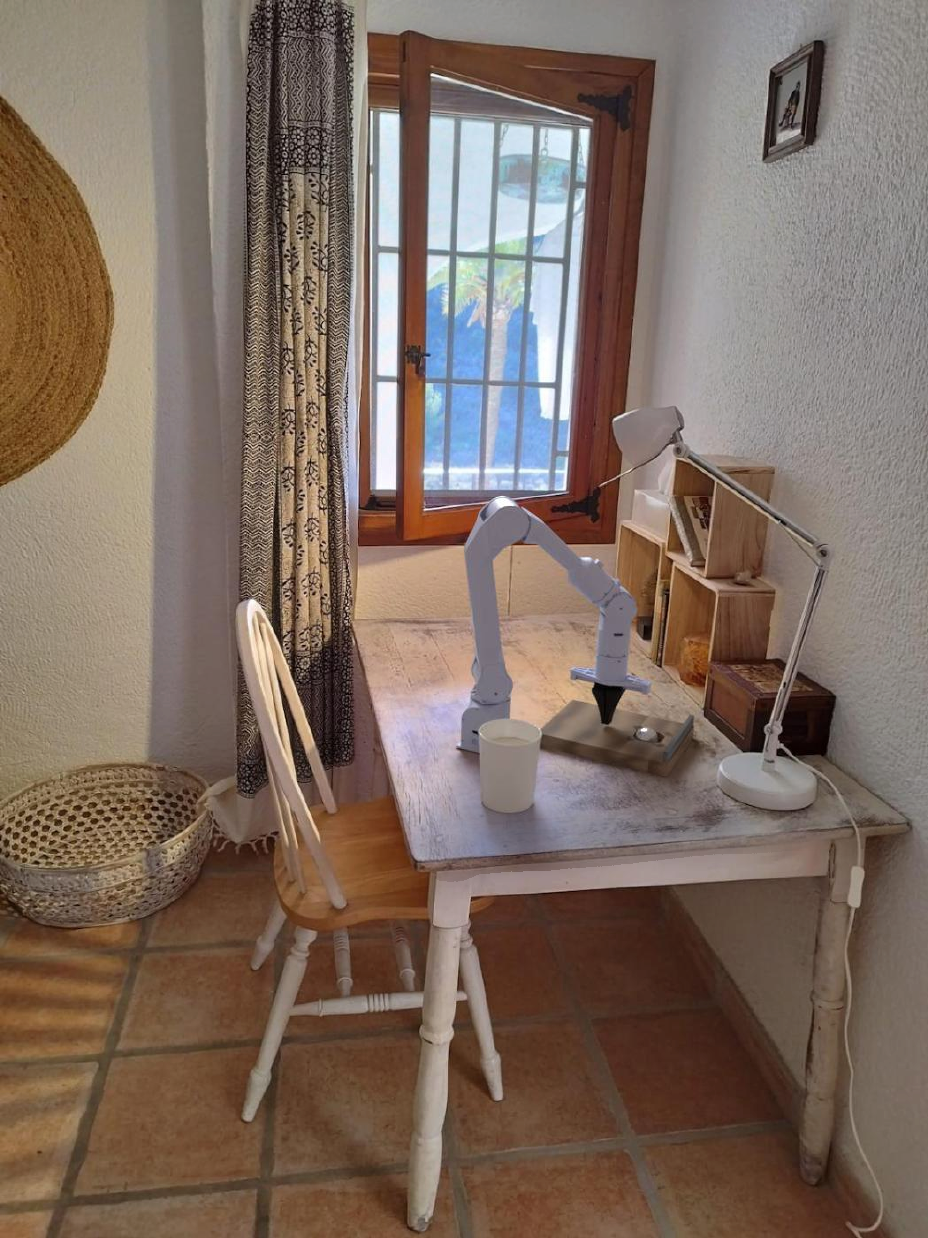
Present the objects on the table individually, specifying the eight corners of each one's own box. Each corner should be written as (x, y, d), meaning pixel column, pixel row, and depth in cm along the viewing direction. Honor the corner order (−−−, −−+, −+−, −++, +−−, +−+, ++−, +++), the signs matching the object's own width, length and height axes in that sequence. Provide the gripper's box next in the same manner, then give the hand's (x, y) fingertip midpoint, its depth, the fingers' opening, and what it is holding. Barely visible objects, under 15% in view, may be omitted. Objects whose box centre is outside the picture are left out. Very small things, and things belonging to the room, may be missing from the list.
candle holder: (550, 800, 142) (554, 731, 138) (511, 823, 135) (515, 751, 131) (502, 780, 148) (505, 713, 144) (463, 800, 141) (465, 731, 137)
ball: (646, 757, 159) (658, 742, 157) (628, 743, 160) (640, 728, 158) (652, 748, 163) (664, 733, 160) (634, 734, 163) (646, 719, 161)
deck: (535, 745, 161) (537, 722, 160) (571, 711, 176) (573, 690, 175) (666, 777, 150) (669, 752, 149) (692, 738, 166) (695, 715, 164)
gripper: (658, 653, 159) (651, 723, 163) (581, 639, 166) (577, 707, 170) (647, 665, 153) (640, 737, 157) (568, 650, 160) (563, 719, 164)
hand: (606, 722), depth 163 cm, fingers closed
